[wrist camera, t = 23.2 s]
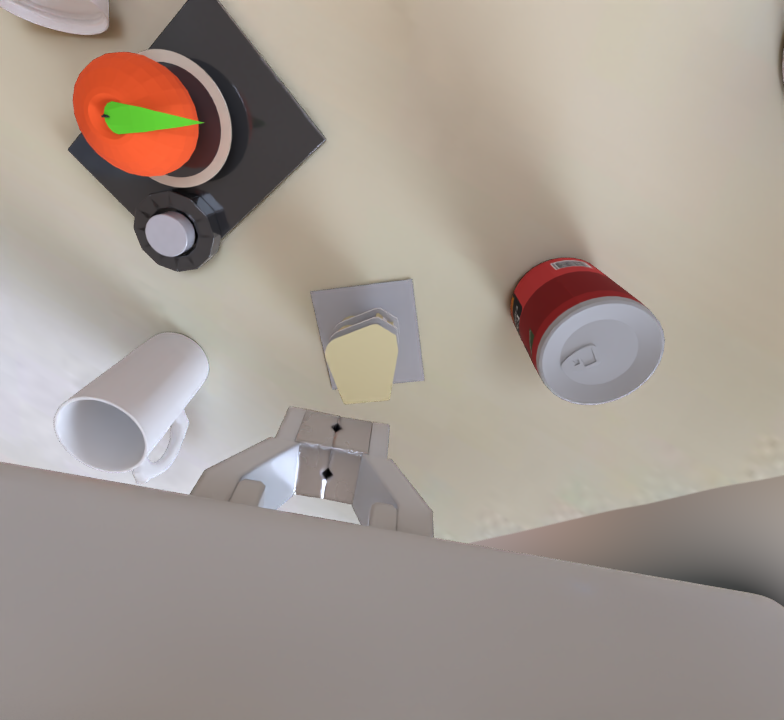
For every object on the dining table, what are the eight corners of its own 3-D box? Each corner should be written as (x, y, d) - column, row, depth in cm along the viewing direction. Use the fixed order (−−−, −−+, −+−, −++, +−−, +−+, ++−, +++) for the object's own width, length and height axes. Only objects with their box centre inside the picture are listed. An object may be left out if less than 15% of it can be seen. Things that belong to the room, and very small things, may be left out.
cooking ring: (160, 16, 30) (158, 16, 29) (257, 132, 32) (256, 132, 32) (85, 112, 32) (82, 112, 32) (180, 211, 35) (178, 212, 35)
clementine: (225, 63, 30) (175, 46, 24) (235, 175, 34) (193, 187, 27) (105, 56, 31) (24, 38, 24) (127, 168, 34) (60, 178, 27)
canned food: (490, 297, 40) (514, 354, 30) (569, 233, 37) (625, 272, 27) (542, 356, 42) (580, 426, 32) (620, 300, 39) (688, 358, 29)
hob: (206, -16, 31) (189, -27, 28) (331, 145, 35) (326, 147, 33) (68, 154, 36) (46, 155, 34) (192, 276, 40) (179, 285, 38)
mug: (129, 334, 43) (35, 403, 32) (196, 323, 42) (122, 390, 31) (171, 422, 47) (100, 509, 37) (233, 414, 46) (179, 500, 36)
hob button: (172, 202, 35) (162, 205, 34) (204, 235, 36) (195, 239, 35) (146, 228, 36) (136, 232, 35) (178, 260, 37) (169, 265, 36)
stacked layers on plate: (424, 380, 44) (425, 412, 39) (332, 389, 45) (322, 421, 40) (412, 278, 39) (411, 300, 34) (310, 291, 40) (295, 314, 35)
